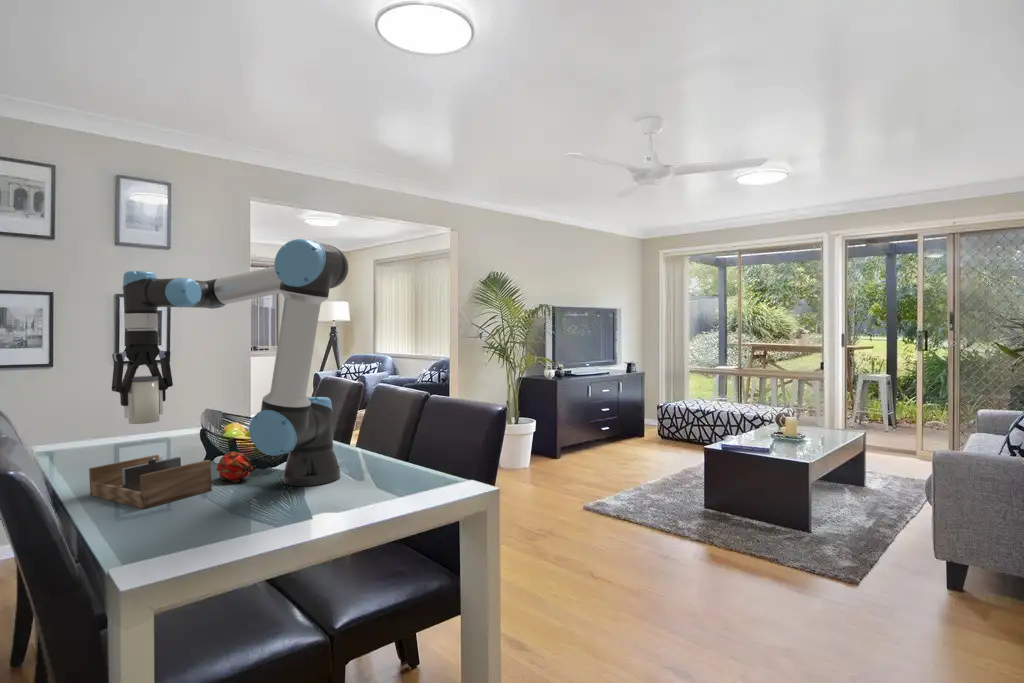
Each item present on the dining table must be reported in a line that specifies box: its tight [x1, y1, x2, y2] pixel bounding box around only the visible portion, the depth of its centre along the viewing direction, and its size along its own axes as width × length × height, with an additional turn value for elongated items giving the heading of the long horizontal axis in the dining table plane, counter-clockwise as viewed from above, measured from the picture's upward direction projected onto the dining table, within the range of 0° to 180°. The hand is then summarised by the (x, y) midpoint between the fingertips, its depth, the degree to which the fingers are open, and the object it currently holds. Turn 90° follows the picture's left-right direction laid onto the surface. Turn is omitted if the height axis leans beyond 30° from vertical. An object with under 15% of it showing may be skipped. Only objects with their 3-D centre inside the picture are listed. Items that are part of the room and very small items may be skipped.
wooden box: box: [88, 454, 212, 510], centre depth 153 cm, size 25×17×8 cm
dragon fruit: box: [215, 451, 256, 483], centre depth 165 cm, size 8×8×12 cm
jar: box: [128, 375, 161, 425], centre depth 158 cm, size 7×7×12 cm
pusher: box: [122, 456, 182, 492], centre depth 153 cm, size 2×14×8 cm, turn 150°
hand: (144, 415), depth 158 cm, fingers closed on jar, 7 cm apart
